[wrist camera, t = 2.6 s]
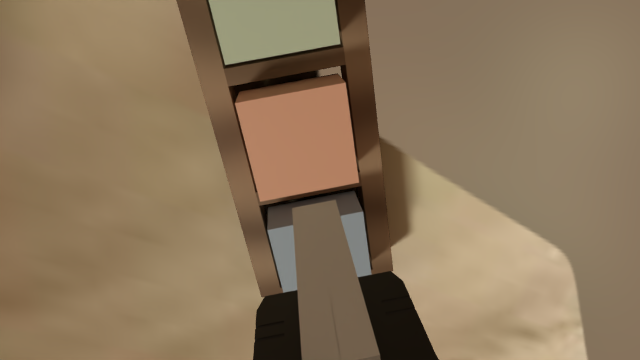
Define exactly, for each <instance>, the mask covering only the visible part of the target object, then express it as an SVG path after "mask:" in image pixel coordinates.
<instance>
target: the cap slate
mask: <svg viewBox="0 0 640 360" xmlns="http://www.w3.org/2000/svg"><path fill="white" fill-rule="evenodd" d="M332 200H336V203H337V207H338V210H339V214H340V217H341V221H342V224H343V228H344V231H345V235H346V238H347V242H348V245H349V249H350V252H351V256H352V259H353V263H354V266H355V270H356V273H357V277H361V276H367V275H371V268H370V260H369V253H368V245H367V238H366V230H365V223H364V215H363V210H362V208H361V206H360V203H359V201H358V199H357V196H356V194H355V191H349V192H344V193H339V194H334V195H329V196H324V197H319V198H313V199H308V200H303V201H298V202H293V203H288V204H283V205H277V206H272V207H268V226H267V231H268V234H269V238H270V242H271V246H272V250H273V254H274V258H275V262H276V266H277V270H278V274H279V277H280V281H281V285H282V289H283V293H284V292H289V291H295V290H297V276H296V261H295V246H294V230H293V215H292V208H295V207H300V206H305V205H311V204H316V203H321V202H327V201H332Z"/></svg>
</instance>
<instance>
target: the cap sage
mask: <svg viewBox="0 0 640 360" xmlns="http://www.w3.org/2000/svg"><path fill="white" fill-rule="evenodd" d="M209 4H210V8H211V12H212V16H213V19H214V23H215V27H216V31H217V35H218V39H219V43H220V47H221V51H222V55H223V59H224V62H225V65H228V64H234V63H239V62H244V61H250V60H255V59H261V58H266V57H272V56H277V55H283V54H288V53H294V52H299V51H304V50H310V49H315V48H321V47H326V46H332V45H337V44H340V37H339V29H338V22H337V15H336V7H335V0H209Z"/></svg>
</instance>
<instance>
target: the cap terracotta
mask: <svg viewBox="0 0 640 360" xmlns="http://www.w3.org/2000/svg"><path fill="white" fill-rule="evenodd" d="M235 105H236V109H237V113H238V117H239V121H240V125H241V129H242V133H243V137H244V141H245V145H246V148H247V152H248V156H249V160H250V164H251V168H252V172H253V176H254V180H255V184H256V188H257V191H258V195H259V199H260V202H261V201H267V200H272V199H277V198H282V197H287V196H292V195H298V194H303V193H308V192H313V191H318V190H323V189H329V188H334V187H339V186H344V185H349V184H354V183H359V178H358V171H357V163H356V156H355V148H354V141H353V134H352V126H351V119H350V111H349V104H348V96H347V89H346V82H345V81H344V80H343V79H342V78H341V77H340V76H339V75H338V74H332V75H327V76H321V77H316V78H310V79H305V80H299V81H294V82H289V83H283V84H278V85H273V86H267V87H262V88H256V89H251V90H246V91H240V92H239V94H238V97H237V99H236V102H235Z"/></svg>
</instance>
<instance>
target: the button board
mask: <svg viewBox="0 0 640 360" xmlns="http://www.w3.org/2000/svg"><path fill="white" fill-rule="evenodd" d="M177 4H178V7H179V11H180V14H181V18H182V21H183V25H184V28H185V32H186V35H187V39H188V42H189V46H190V49H191V53H192V56H193V60H194V63H195V67H196V70H197V74H198V77H199V80H200V84H201V87H202V91H203V94H204V98H205V101H206V105H207V108H208V112H209V115H210V119H211V122H212V126H213V129H214V133H215V136H216V140H217V143H218V147H219V150H220V154H221V157H222V161H223V164H224V168H225V171H226V175H227V178H228V182H229V185H230V189H231V192H232V196H233V199H234V203H235V206H236V210H237V213H238V217H239V220H240V223H241V227H242V230H243V234H244V237H245V241H246V244H247V248H248V251H249V255H250V258H251V262H252V265H253V269H254V272H255V276H256V279H257V283H258V286H259V290H260V293H261V297H265V296H268V295H274V294H279V293H283V289H282V285H281V281H280V277H279V274H278V270H277V266H276V262H275V258H274V254H273V250H272V246H271V242H270V238H269V234H268V231H267V226H268V219H267V215H266V211H265V207H264V205H265V204H271V203H276V202H281V201H286V200H291V199H296V198H302V197H307V196H312V195H317V194H322V193H327V192H332V191H338V190H343V189H348V188H353V187H357V190H358V197H359V203H360V206H361V208H362V210H363V215H364V223H365V230H366V238H367V245H368V253H369V260H370V268H371V275H372V274H377V273H382V272H387V271H393V265H392V255H391V246H390V236H389V227H388V217H387V208H386V198H385V189H384V179H383V170H382V161H381V151H380V142H379V132H378V123H377V113H376V104H375V94H374V85H373V76H372V66H371V57H370V47H369V37H368V28H367V18H366V10H365V0H335V7H336V15H337V22H338V29H339V37H340V44H337V45H332V46H326V47H321V48H315V49H310V50H304V51H299V52H294V53H288V54H283V55H277V56H272V57H266V58H261V59H255V60H250V61H244V62H239V63H234V64H228V65H225V62H224V59H223V55H222V51H221V47H220V43H219V39H218V35H217V31H216V27H215V23H214V19H213V16H212V12H211V8H210V4H209V0H177ZM336 66H341V73H342V79H343V80H344V81H345V82H346V89H347V96H348V104H349V111H350V119H351V126H352V134H353V141H354V148H355V156H356V163H357V171H358V178H359V183H354V184H349V185H344V186H339V187H334V188H329V189H323V190H318V191H313V192H308V193H303V194H298V195H292V196H287V197H282V198H277V199H272V200H267V201H261V202H260V199H259V195H258V191H257V188H256V184H255V180H254V176H253V172H252V168H251V164H250V160H249V156H248V152H247V148H246V145H245V141H244V137H243V133H242V129H241V125H240V121H239V117H238V113H237V109H236V105H235V102H236V99H237V96H236V92H235V88H234V85H239V84H244V83H250V82H255V81H261V80H266V79H271V78H277V77H282V76H288V75H293V74H298V73H304V72H309V71H315V70H320V69H325V68H330V67H336Z"/></svg>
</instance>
